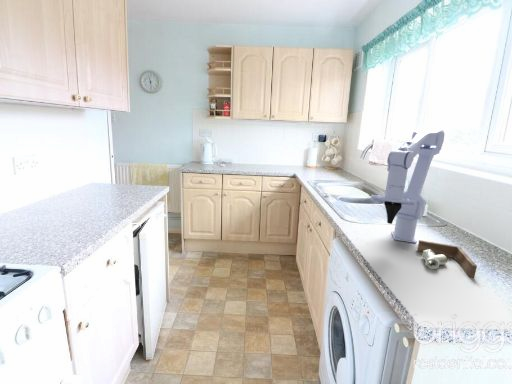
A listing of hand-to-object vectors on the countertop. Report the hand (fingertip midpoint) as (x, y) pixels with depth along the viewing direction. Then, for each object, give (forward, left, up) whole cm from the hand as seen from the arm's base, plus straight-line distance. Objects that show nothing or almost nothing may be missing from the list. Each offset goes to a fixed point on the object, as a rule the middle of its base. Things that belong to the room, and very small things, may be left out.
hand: (389, 222), depth 102 cm
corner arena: (+4, +17, -10) cm, 20 cm away
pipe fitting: (+7, +15, -10) cm, 19 cm away
